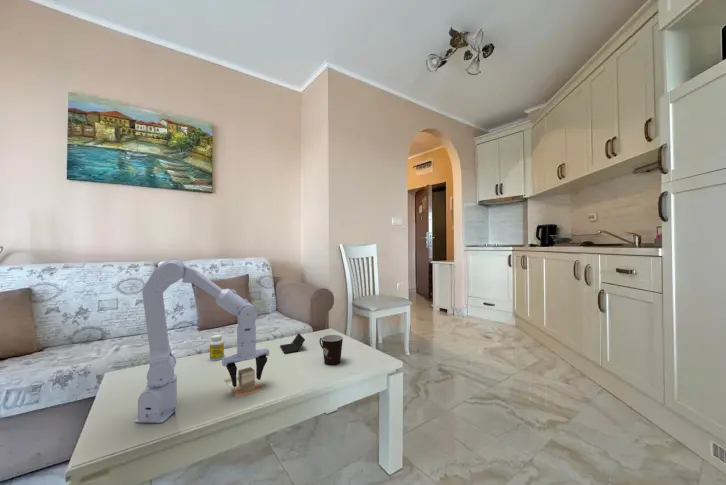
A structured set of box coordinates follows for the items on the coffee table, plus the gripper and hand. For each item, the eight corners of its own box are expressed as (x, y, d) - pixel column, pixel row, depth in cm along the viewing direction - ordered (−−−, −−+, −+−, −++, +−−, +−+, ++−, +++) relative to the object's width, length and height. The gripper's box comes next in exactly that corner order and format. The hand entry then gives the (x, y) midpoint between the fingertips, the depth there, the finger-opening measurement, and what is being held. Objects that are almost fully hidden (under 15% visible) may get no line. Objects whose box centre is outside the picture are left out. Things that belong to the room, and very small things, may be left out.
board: (266, 393, 98) (266, 389, 98) (234, 403, 91) (234, 399, 91) (249, 374, 112) (249, 371, 112) (220, 382, 106) (220, 378, 106)
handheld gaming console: (275, 344, 140) (289, 326, 142) (286, 350, 144) (299, 332, 146) (284, 355, 130) (298, 335, 133) (296, 362, 134) (309, 342, 137)
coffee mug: (345, 364, 120) (345, 339, 120) (324, 368, 117) (324, 342, 117) (337, 354, 131) (337, 331, 131) (317, 357, 128) (317, 334, 128)
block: (254, 389, 98) (254, 370, 98) (242, 393, 95) (242, 374, 95) (250, 384, 101) (250, 366, 101) (238, 388, 98) (238, 370, 98)
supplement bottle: (222, 355, 131) (222, 333, 131) (224, 359, 127) (224, 336, 127) (209, 357, 128) (208, 335, 128) (210, 362, 124) (210, 338, 124)
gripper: (225, 348, 90) (226, 394, 90) (272, 339, 99) (273, 380, 99) (220, 342, 96) (220, 385, 96) (265, 334, 105) (265, 372, 105)
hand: (246, 382), depth 98 cm, fingers open, 7 cm apart
